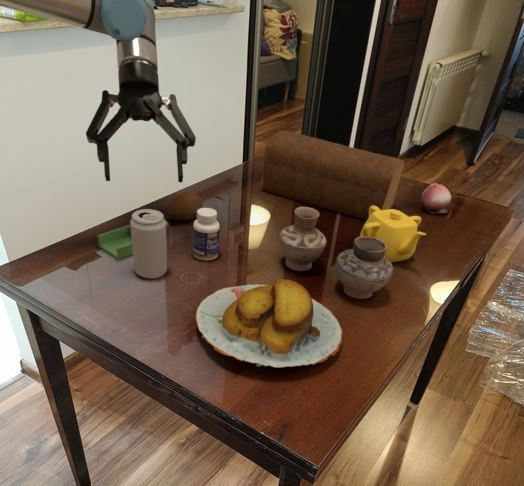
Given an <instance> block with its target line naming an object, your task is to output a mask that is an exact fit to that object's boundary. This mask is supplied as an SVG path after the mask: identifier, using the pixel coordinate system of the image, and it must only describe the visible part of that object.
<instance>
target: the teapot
mask: <svg viewBox="0 0 524 486" xmlns="http://www.w3.org/2000/svg"><path fill="white" fill-rule="evenodd" d="M421 223H422V217H421V216H419V215H411V216H409V215H407V214H405V213H404V212H402V211H400V210H398V209H394V208H390V209H387V210H380V209H379V208H378V207H376V206H370V208H369V218H368V220H365V223H364V224H363V227H362V229H361V231H360V234H359V237H373V238H376V239H379V240H381V241H383V242H384V243H385V244H386V246H387V249H386V252H385V255H384V257H386V258H387V259H388V260H389V261H390V262H391V263H395V262H397V263H398V262H401V261H405V260H408V259H410V258H411V257H412V256H413V255H414V253H415V252H416V248H417V244H418V242H419V240H420V238H421V237H423V236H427V233H425V232H424V231H423V232H422V231H418V227H419V226H420V225H421Z"/></svg>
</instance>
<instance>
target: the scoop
mask: <svg viewBox="0 0 524 486" xmlns="http://www.w3.org/2000/svg"><path fill="white" fill-rule="evenodd" d="M165 221H166V229H168V228H169V222H168V221H167V220H165ZM96 236H97V237H96V238H97V244H98V245H97V246H98V248H100V249H101V250H103V251H105V252H106V253H107V254H109V255H111V256H112V257H114V258H115V259H117V260H118V261H121V260H123V259H126V258H128V257H131V256H133V249H132V237H131V225H130V224H126V225H124V226H120V227H117V228H115V229H112V230H110V231H106V232H103V233H100V234H97V235H96Z"/></svg>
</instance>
